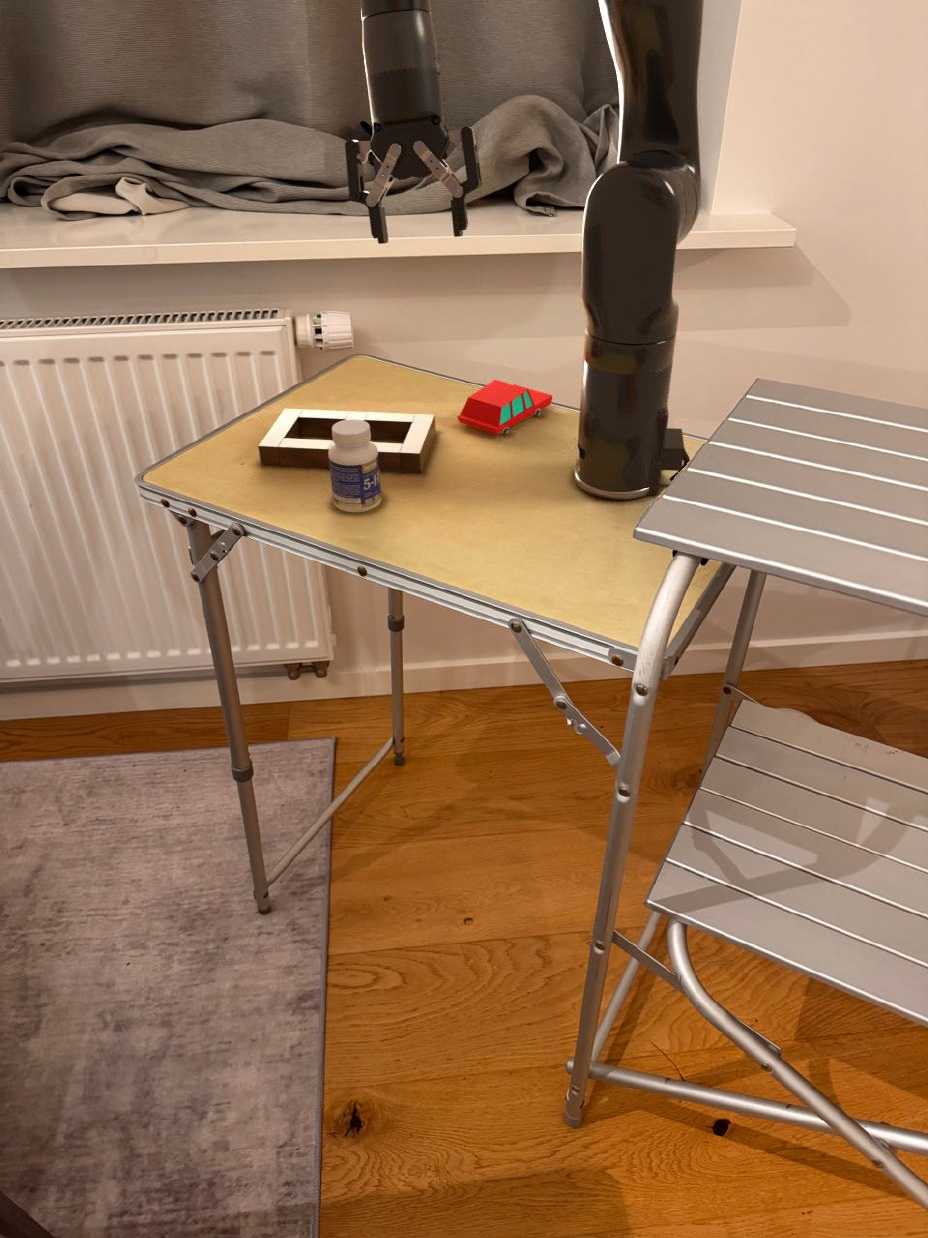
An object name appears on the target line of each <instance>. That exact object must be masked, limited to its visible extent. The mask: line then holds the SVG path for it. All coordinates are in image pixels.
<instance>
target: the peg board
mask: <svg viewBox="0 0 928 1238" xmlns="http://www.w3.org/2000/svg"><path fill="white" fill-rule="evenodd" d="M349 419H358V420H363V421H366V422H367V423H368V424H369V425H370V432H371V439H370V440H391V441H403V443H401V442H400V443H398V442H396V443H395V442H376V441H372V442H373V443H374V444H375V445H376V447H377V450H378V459H379V472H390V473H391V472H393V473H411V474H412V473H413V474H421V473H422V471H423V468H424V466H425V463H426V460H427V458H428V455H429V453H430V449H431V447H432V444H433V441H434V439H435V435H436V432H437V431H436V415H435V414H427V413H424V414H423V413H403V412H402V413H398V412H379V411H378V412H374V411H351V410H350V411H349V410H348V411H347V410H326V409H304V408H303V409H301V408H284V409H283V410H282V412H281V414H280V415H279V416H278V418H277V419H276V420H275V422H274V423H273V425H272V426H271V428H270V429H269V431H268V432H267V433H266V434H265V436H264V437H263V438H262V440H261V442H260V443H259V444H258V445H257V449H258V454H259V459H260V465H261V466H270V467H271V466H272V467H287V468H289V467H290V468H291V467H292V468H309V469H310V468H312V469H329V470H330V466H329V456H328V452H329V449H330V447H331V446H332V445H333V444H334V442H333V439H332V440H331V439H311V438H310V439H309V438H300V437H301V436H302V437H303V436H304V437H305V436H306V437H326V438H329V437H330V438H333V437H332V427H333V425H334V424H336V423H337V422H340V421H343V420H349Z"/></svg>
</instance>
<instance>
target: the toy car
mask: <svg viewBox="0 0 928 1238" xmlns="http://www.w3.org/2000/svg"><path fill="white" fill-rule="evenodd" d="M552 402H553V394H550V393H547V392H543V391H539V390H536V389H533V388H529V387H526V386H522V385H519V384H515V383H514V384H511V383H508V382H504V381H502V380H497V379H494V380H492V381H491V382H489V383H487V384H486V385H485V386H483V387H482V388H480V389H478V390H476V391H475V392H474V393H472V394H470V395H469V396H468V397H467V399H466V401H465V403H464V406H463V407H462V410H461V411H460V414H458V415H457V419H458V422H459V423H460V424H462V425H465V426H468V427H472V428H475V429H478V430H481V431H484V432H487V433H489V434H493V435H495V436H496V435H499V434H503V433H504V435H505V436H506V435H508V434H509V429H510V428H511V427H514V426H516V425H517V424H520V422H522V421H524V420H526V419H528V418H531V417H532V416H534V415H536V416H537V417H540V416H541V411H542V410H544V409H546V408H548V407H549V406H551V403H552Z"/></svg>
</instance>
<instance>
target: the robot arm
mask: <svg viewBox="0 0 928 1238" xmlns="http://www.w3.org/2000/svg"><path fill="white" fill-rule="evenodd" d="M704 1H705V0H597V2H598V6H599V11H600V15H601V20H602V24H603V28H604V32H605V36H606V40H607V44H608V47H609V50H610V54H611V58H612V62H613V66H614V70H615V73H616V80H617V87H618V97H619V127H618V128H619V129H618V131H619V132H618V147H617V158H616V163H615V164H614V165H612V166H610V167H608V168H607V169H606V170H605V171H603V172H602V173H601V174H600V175H599V176H598V177H597V178H596V180H595V181H594V182H593V184H592V185H591V188H590V190H589V191H588V194H587V197H586V201H585V204H584V210H583V217H582V228H581V250H580V251H581V252H580V253H581V254H580V255H581V256H580V257H581V258H580V297H581V299H580V300H581V303H582V307H583V310H584V313H585V324H584V325H585V326H584V329H585V330H584V343H583V344H584V345H583V356H582V357H583V359H582V360H583V361H582V374H581V389H580V402H579V417H578V418H579V419H578V421H579V422H578V431H577V432H578V433H577V438H576V437H574V449H575V453H576V458H575V459H576V460H575V469H574V482H575V483H576V485H577V486H578V488H580V489H581V490H582V491H584V492H585V493H588V494H590V495H593V496H595V497H599V498H603V499H608V500H634V499H639V498H643V497H646V496H650V495H653V496H654V495H655V496H658V495H659V493H660V485H661V478H662V471H671V472H672V471H673V472H675V473H674V474H673V475H672V476H671V477H669V481H670V482H671V481H672V480H673V479H674V477H675V476H676V475H677V474H678V472H680V471H681V470H682V469H683V468H684V467H685V466H686V465H687V463H688V462H689V461H690V462H691V459H690V456H689V454H688V452H687V451H686V448H685V442H684V435H683V429H682V428H676V427H674V428H671V427H668V424H669V415H670V414H669V406H668V403H669V396H670V389H671V381H672V380H671V379H672V372H673V365H674V357H675V356H674V355H675V347H676V341H677V340H676V339H677V332H678V324H679V316H680V307H679V304H678V302H677V300H676V299H674V296H673V285H674V275H675V264H676V255H677V254H676V253H677V245H679V244H680V243H682V241H683V240H685V239H686V237H687V236H688V235H689V234H690V233H691V231H692V230H693V228H694V226H695V224H696V222H697V220H698V216H699V213H700V209H701V204H702V173H701V172H702V169H701V168H702V167H701V155H700V154H701V153H700V135H699V134H700V133H699V114H698V111H699V110H698V83H699V81H698V79H699V68H700V67H699V66H700V57H701V48H702V47H701V46H702V35H703V34H702V33H703V19H704ZM359 7H360V13H361V14H360V15H361V21H362V22H361V23H362V52H363V59H364V60H363V61H364V67H365V75H366V83H367V91H368V93H367V94H368V99H369V108H370V109H369V110H370V116H371V123H372V124H371V125H372V137H371V139H370V140H360V141H359V140H357V139H349V140H347V141H346V142H345V144H344V152H345V161H346V163H345V164H346V173H347V184H348V185H347V187H348V194H349V195H348V197H349V200H350V201H351V202H352V203H358V204H362V205H364V206H365V207H366V208H367V211H368V217H369V226H370V232H371V236H372V238H373V240H374V239H375V240H376V239H377V243H378V245H385V244H388V243H389V234H388V226H387V217H386V211H385V205H383V204H382V203H383V201H384V199H385V197H386V195H387V193H388V191H389V189H390V188H391V187H392V185H393V183H394V181H395V180H398V181H405V180H411V179H414V178H418V179H425V178H431V176H433V175H434V176H435V178H437V180H438V181H439V182H440V183H442V184H443V186H444V187H445V189H447V191H448V192H449V193H450V194H451V196H452V199H450V209H451V220H452V232H453V237H454V238H459V237H460V238H461V237H463V236H464V231H466V230H468V226H469V220H468V208H467V207H468V206H467V197H468V195H470V194H471V193H473V192H474V191H476V190H479V189H481V188H482V186H483V178H482V171H481V165H480V164H481V163H480V157H479V149H478V142H477V141H478V140H477V135H476V131H475V129H474V128H473V127H471V126H468V125H467V126H463V127H462V128H460V129H455V130H450V131H449V129H448V128H447V126H446V124H445V117H444V107H443V95H442V87H441V85H442V84H441V74H440V55H439V52H438V44H437V43H438V42H437V37H436V36H437V35H436V31H435V27H434V22H433V15H432V8H431V7H432V5H431V0H359ZM451 142H452V143H453V144H454V145H455V148H456V150H457V151H458V152H462V153H463V162H464V167H465V175H466V180H464V181H462V182H461V180H460V179H459V178H458V177H457V175H456V174H455V172H454V171H453V170H452V169H451V167H450V166H449V165H448V164H447V163H446V161H445V160H444V159H443V158H444V156H445V154H446V153H447V151H448V149H449V146H450V144H451ZM371 152H372V154H373V155H374V156H375V158H376V159H377V160H378V162H379V163H380V164H381V166H380V168H379V169H378V172H377V174H376V176H375V177H374V181H373V183H372V186H371V187H370V190H369V191H367V190H366V181H365V170H364V168H365V167H364V163H367V162H368V161H369V154H370V153H371Z"/></svg>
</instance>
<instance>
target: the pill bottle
mask: <svg viewBox="0 0 928 1238" xmlns="http://www.w3.org/2000/svg"><path fill="white" fill-rule="evenodd" d="M331 438H332V440H333V442H334V444H333V445H332V446H331V447H330V449H329V452H328V456H329V466H330V469H329V473H330V475H329V476H330V483H331V484H330V485H331V493H332V501H333V505H335V507H336V508H337V509H339V510H340V511H343V512H347V513H363V512H364V513H365V512H367V511H371V510H373V509H375V508H377V507H378V506H379V505H380V503H381V501H382V489H381V488H382V487H381V475H380V471H379V459H378V450H377V447H376V445H375V444H374V443H373V442H374V441H372V439H371V432H370V425H369V424H368V423H367V422H366V421H363V420H358V419H349V420H343V421H340V422H337V423H336V424H334V425H333V427H332V437H331Z"/></svg>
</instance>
